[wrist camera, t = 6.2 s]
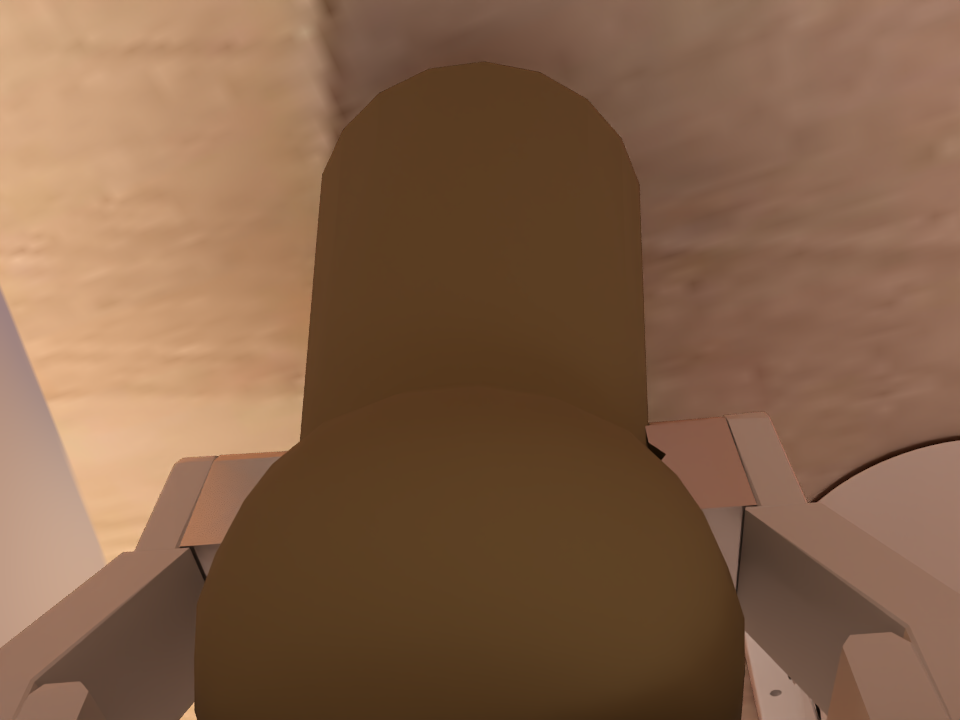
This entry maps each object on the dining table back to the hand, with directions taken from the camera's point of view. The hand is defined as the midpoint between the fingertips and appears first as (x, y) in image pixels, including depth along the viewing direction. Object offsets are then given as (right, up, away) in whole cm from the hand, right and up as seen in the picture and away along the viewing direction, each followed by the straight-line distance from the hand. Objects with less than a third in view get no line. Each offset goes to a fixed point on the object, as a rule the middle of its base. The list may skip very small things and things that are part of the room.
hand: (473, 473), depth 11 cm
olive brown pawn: (0, +4, +5) cm, 7 cm away
